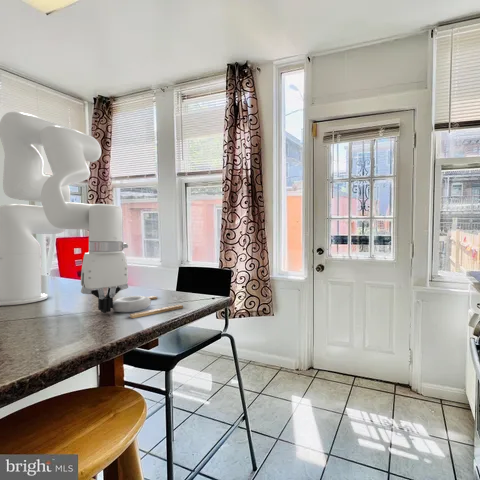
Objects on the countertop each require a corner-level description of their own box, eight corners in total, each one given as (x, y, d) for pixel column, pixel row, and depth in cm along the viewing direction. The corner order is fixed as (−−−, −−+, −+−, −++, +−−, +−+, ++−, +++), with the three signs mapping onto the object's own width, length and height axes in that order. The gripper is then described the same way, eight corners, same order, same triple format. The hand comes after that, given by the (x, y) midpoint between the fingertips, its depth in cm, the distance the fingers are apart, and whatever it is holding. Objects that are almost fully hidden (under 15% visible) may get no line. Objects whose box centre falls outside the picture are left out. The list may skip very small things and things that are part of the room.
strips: (107, 305, 86) (107, 303, 86) (154, 297, 98) (154, 295, 97) (132, 318, 74) (132, 315, 74) (182, 308, 86) (183, 305, 86)
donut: (146, 303, 90) (108, 308, 83) (147, 293, 90) (109, 297, 83) (154, 310, 83) (113, 316, 76) (154, 299, 83) (114, 303, 76)
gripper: (131, 246, 85) (130, 304, 86) (67, 247, 73) (67, 314, 74) (140, 247, 81) (140, 308, 81) (74, 249, 69) (74, 320, 69)
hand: (105, 311), depth 78 cm, fingers closed
